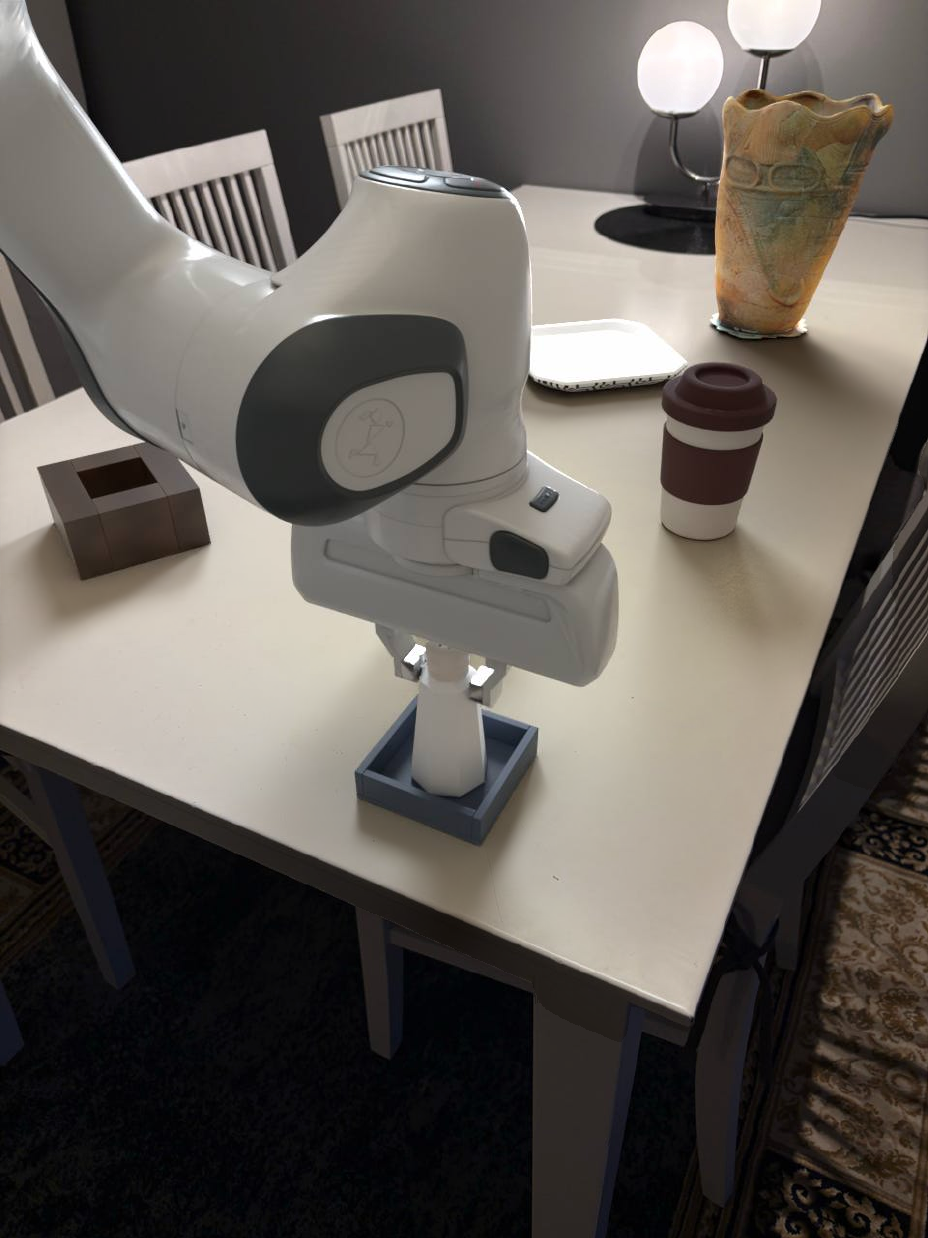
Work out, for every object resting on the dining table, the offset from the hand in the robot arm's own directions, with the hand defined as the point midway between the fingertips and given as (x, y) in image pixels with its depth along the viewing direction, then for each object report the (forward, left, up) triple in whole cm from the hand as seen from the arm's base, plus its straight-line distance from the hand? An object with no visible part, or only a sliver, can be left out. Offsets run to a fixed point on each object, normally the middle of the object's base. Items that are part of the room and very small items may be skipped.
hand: (448, 686), depth 58 cm
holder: (-11, +43, -8) cm, 45 cm away
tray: (0, 0, -8) cm, 8 cm away
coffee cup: (+37, +17, -8) cm, 42 cm away
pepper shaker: (0, 0, -8) cm, 8 cm away
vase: (+84, +54, -8) cm, 100 cm away
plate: (+53, +55, -8) cm, 77 cm away
